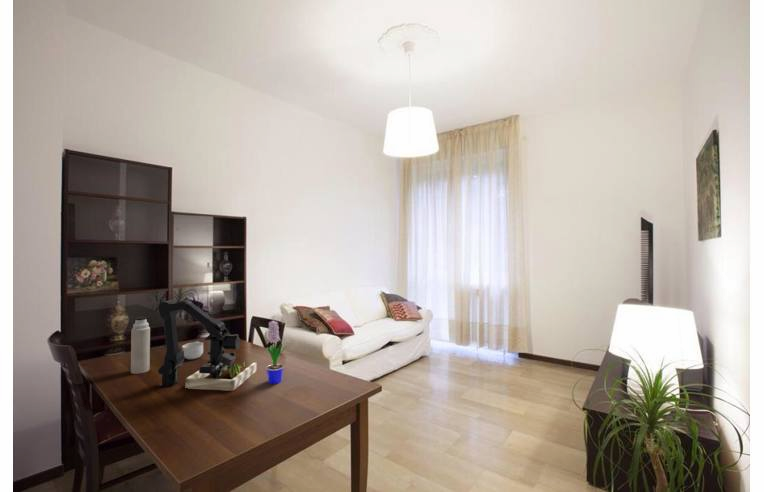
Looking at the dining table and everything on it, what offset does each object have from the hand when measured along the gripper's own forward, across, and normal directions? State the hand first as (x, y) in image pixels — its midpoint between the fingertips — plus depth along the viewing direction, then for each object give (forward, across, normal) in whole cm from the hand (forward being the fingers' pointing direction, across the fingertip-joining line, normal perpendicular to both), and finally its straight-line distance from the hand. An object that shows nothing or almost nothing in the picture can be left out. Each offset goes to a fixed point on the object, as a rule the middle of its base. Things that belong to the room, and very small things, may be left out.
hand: (216, 381), depth 162 cm
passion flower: (+2, +12, 0) cm, 12 cm away
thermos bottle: (+2, +12, +48) cm, 50 cm away
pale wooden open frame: (+2, +7, 0) cm, 7 cm away
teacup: (+2, +36, +34) cm, 50 cm away
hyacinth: (+2, +6, -27) cm, 28 cm away
